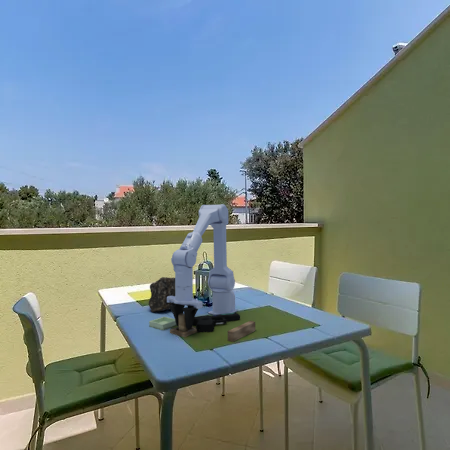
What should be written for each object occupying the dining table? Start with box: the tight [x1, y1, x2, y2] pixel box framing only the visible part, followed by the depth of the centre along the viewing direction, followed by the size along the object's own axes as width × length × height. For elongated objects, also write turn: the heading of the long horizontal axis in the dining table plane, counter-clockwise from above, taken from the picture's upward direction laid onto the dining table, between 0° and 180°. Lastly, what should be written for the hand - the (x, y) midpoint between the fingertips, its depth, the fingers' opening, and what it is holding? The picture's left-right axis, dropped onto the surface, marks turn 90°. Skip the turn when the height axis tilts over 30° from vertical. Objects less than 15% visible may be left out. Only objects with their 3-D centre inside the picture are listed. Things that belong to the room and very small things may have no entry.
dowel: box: [178, 312, 188, 332], centre depth 104 cm, size 3×3×6 cm
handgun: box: [192, 312, 241, 333], centre depth 112 cm, size 19×3×12 cm
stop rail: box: [227, 320, 256, 343], centre depth 101 cm, size 13×2×3 cm, turn 143°
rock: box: [148, 276, 175, 313], centre depth 133 cm, size 14×13×15 cm
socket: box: [169, 326, 198, 338], centre depth 104 cm, size 7×7×1 cm
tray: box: [148, 316, 177, 331], centre depth 111 cm, size 7×7×2 cm
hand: (184, 326), depth 104 cm, fingers open, 4 cm apart
